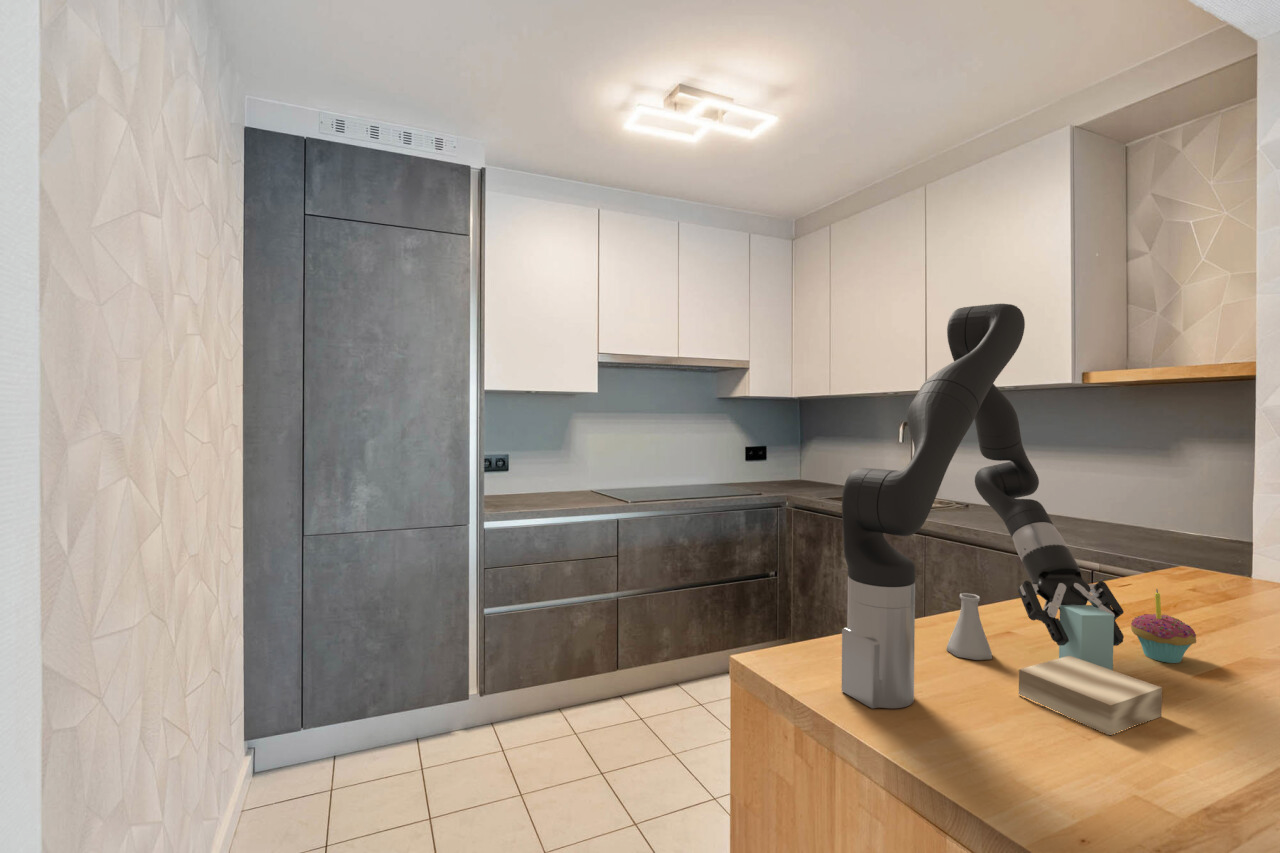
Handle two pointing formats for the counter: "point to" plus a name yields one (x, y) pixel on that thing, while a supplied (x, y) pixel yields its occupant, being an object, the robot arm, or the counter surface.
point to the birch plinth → (1091, 693)
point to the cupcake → (1163, 635)
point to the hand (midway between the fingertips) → (1091, 643)
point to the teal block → (1088, 634)
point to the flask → (969, 632)
